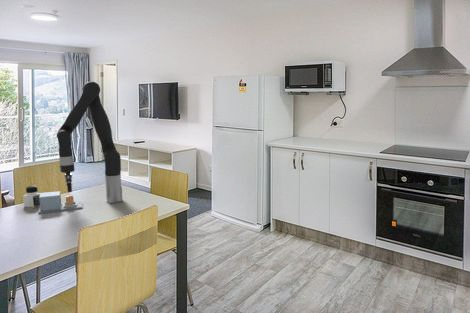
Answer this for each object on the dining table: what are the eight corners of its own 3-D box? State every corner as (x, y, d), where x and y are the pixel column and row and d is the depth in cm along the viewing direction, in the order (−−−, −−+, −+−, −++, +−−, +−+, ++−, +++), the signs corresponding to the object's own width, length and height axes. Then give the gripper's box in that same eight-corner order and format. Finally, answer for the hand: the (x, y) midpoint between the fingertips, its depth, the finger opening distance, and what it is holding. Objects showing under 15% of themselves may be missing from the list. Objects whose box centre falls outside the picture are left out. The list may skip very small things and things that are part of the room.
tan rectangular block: (73, 204, 216) (73, 194, 215) (73, 206, 213) (73, 196, 212) (66, 205, 214) (65, 195, 213) (66, 207, 211) (65, 197, 210)
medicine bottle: (34, 207, 213) (32, 188, 211) (23, 206, 214) (21, 187, 212) (42, 204, 220) (40, 185, 218) (32, 203, 221) (30, 184, 219)
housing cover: (61, 204, 216) (60, 191, 214) (60, 208, 207) (59, 195, 206) (41, 206, 211) (40, 193, 210) (40, 211, 203) (39, 197, 201)
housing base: (81, 203, 222) (81, 199, 221) (82, 208, 211) (82, 205, 211) (40, 207, 212) (39, 204, 212) (38, 213, 201) (38, 210, 201)
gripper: (74, 165, 204) (77, 192, 207) (73, 161, 217) (76, 186, 220) (59, 166, 201) (62, 194, 204) (60, 162, 214) (63, 188, 217)
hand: (69, 190), depth 212 cm, fingers open, 8 cm apart
